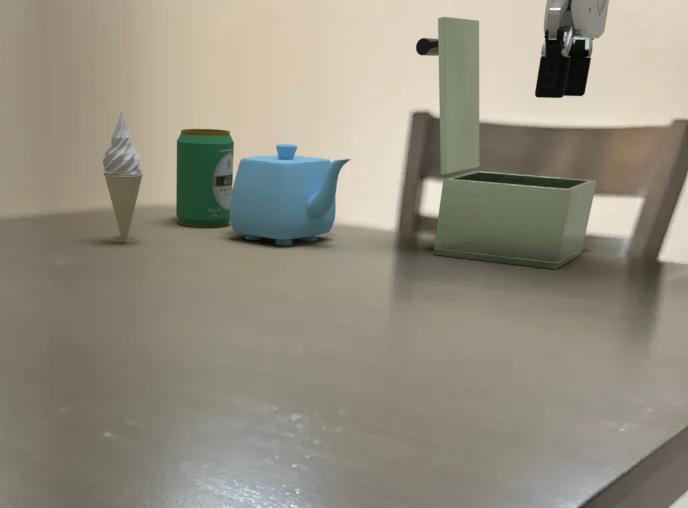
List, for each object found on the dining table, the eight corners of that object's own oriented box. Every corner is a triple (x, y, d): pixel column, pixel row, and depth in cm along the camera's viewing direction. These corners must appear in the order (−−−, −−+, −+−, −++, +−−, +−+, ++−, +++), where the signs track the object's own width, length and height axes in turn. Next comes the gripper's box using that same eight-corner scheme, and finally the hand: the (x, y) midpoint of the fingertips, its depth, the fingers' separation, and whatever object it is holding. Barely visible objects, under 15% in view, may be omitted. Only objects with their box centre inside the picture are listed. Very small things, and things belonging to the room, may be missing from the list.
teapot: (313, 255, 122) (320, 153, 116) (209, 236, 132) (211, 141, 126) (370, 244, 129) (380, 148, 123) (268, 227, 140) (272, 137, 134)
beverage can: (212, 229, 137) (215, 134, 130) (165, 224, 140) (165, 130, 134) (241, 223, 142) (244, 131, 136) (195, 217, 146) (196, 127, 140)
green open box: (581, 254, 126) (596, 180, 122) (556, 269, 117) (571, 189, 113) (465, 241, 133) (476, 170, 129) (432, 254, 124) (443, 178, 119)
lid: (479, 20, 121) (440, 28, 124) (444, 16, 112) (403, 25, 114) (479, 166, 128) (442, 170, 131) (446, 174, 119) (408, 178, 121)
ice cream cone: (128, 238, 129) (126, 110, 121) (151, 243, 126) (150, 112, 118) (97, 241, 126) (93, 110, 119) (119, 247, 123) (116, 112, 115)
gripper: (608, -96, 98) (574, 99, 106) (642, -77, 110) (609, 95, 119) (534, -91, 101) (506, 97, 110) (574, -73, 114) (547, 94, 123)
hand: (559, 96), depth 114 cm, fingers open, 9 cm apart
